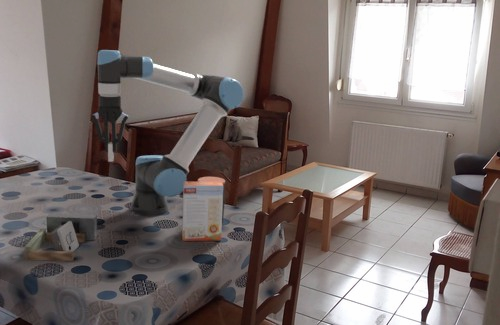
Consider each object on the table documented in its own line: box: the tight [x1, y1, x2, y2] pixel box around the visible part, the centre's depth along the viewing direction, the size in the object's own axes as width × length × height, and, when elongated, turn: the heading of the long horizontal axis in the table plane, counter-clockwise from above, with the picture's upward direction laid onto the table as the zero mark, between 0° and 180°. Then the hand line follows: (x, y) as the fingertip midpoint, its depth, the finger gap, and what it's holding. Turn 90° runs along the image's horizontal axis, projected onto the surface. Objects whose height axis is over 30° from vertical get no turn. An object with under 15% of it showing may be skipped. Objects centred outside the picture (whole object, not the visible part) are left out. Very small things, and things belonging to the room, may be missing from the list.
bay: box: [24, 228, 86, 262], centre depth 169 cm, size 15×17×4 cm
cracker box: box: [181, 180, 223, 242], centre depth 185 cm, size 14×6×21 cm, turn 100°
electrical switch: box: [51, 221, 80, 251], centre depth 168 cm, size 9×5×9 cm, turn 176°
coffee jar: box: [197, 176, 226, 225], centre depth 200 cm, size 11×11×18 cm
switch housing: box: [46, 212, 98, 241], centre depth 179 cm, size 16×5×8 cm, turn 95°
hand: (111, 160), depth 186 cm, fingers closed
